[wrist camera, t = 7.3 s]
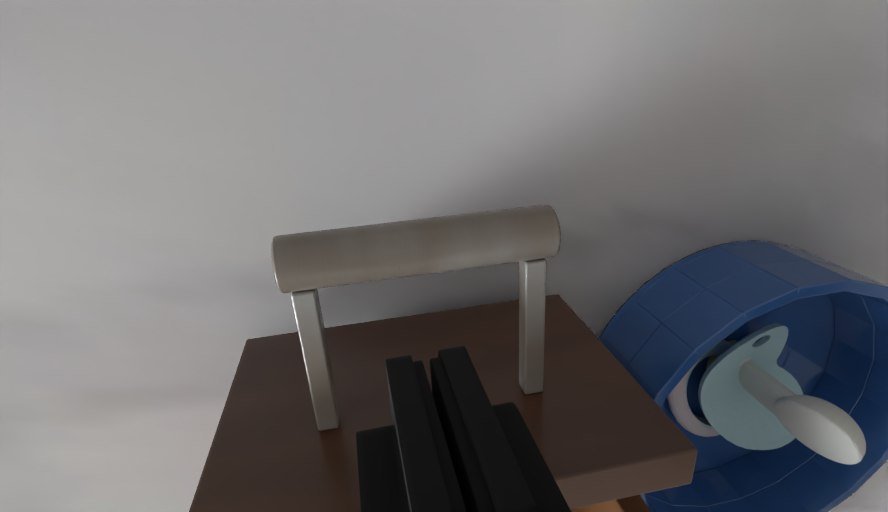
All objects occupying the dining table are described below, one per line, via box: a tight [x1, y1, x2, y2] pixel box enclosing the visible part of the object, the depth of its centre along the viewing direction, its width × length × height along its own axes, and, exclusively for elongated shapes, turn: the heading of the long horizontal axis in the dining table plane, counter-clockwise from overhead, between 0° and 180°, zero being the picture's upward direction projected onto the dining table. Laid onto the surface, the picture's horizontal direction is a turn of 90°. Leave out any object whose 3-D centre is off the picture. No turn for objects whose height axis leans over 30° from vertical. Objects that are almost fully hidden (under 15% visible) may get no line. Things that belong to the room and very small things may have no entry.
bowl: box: [599, 240, 888, 512], centre depth 23 cm, size 14×14×4 cm
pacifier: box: [667, 323, 866, 465], centre depth 22 cm, size 7×6×6 cm
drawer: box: [189, 205, 698, 512], centre depth 17 cm, size 21×12×9 cm, turn 3°
